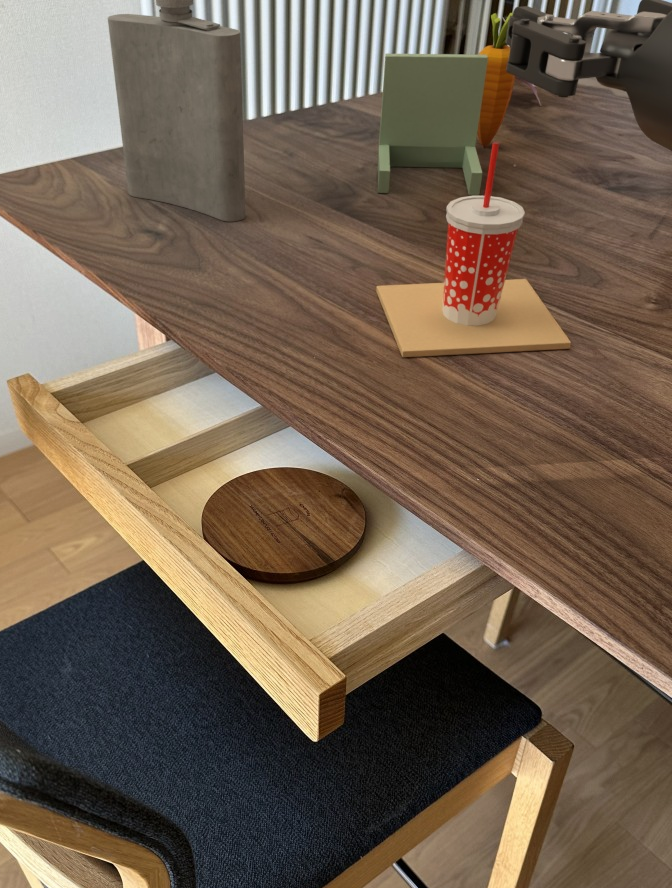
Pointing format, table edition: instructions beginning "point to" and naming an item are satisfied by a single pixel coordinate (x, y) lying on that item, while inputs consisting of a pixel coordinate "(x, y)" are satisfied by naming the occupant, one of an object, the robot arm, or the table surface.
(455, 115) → the tablet stand
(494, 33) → the carrot
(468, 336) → the cork mat
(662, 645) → the table surface
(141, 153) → the hip flask
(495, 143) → the beverage cup
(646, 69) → the robot arm
